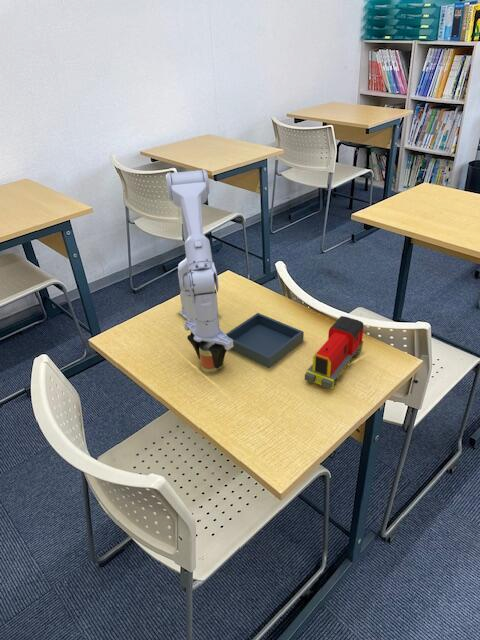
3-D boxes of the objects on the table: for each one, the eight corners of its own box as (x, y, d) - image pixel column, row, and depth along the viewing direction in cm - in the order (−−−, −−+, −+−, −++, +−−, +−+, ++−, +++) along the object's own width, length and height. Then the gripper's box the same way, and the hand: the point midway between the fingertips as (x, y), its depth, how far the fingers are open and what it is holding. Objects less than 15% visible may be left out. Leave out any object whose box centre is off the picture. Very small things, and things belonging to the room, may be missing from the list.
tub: (223, 347, 128) (222, 336, 126) (258, 323, 137) (257, 312, 135) (269, 370, 119) (269, 358, 117) (303, 342, 128) (303, 331, 126)
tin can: (197, 366, 121) (194, 344, 118) (214, 359, 124) (211, 336, 120) (208, 376, 118) (206, 353, 114) (225, 368, 120) (223, 345, 117)
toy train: (362, 352, 123) (366, 319, 118) (330, 396, 110) (332, 361, 105) (338, 344, 127) (340, 312, 121) (303, 386, 113) (304, 351, 108)
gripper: (172, 313, 114) (179, 358, 122) (216, 333, 106) (221, 381, 113) (193, 300, 119) (198, 345, 126) (238, 320, 110) (240, 367, 118)
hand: (210, 361), depth 120 cm, fingers closed on tin can, 5 cm apart
